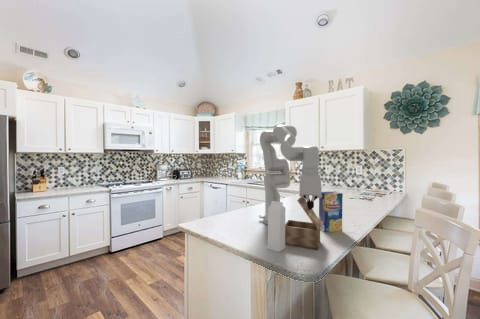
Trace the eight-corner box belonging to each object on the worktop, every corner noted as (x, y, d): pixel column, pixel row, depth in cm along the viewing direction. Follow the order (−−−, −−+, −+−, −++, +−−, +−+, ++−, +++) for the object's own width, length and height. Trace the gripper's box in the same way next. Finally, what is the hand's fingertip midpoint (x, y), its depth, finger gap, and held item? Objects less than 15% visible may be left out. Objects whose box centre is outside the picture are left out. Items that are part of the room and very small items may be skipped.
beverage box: (342, 231, 132) (342, 193, 131) (324, 232, 130) (324, 193, 130) (335, 227, 139) (335, 191, 138) (318, 228, 137) (319, 191, 137)
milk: (273, 245, 111) (274, 199, 110) (285, 248, 107) (285, 201, 107) (267, 249, 106) (267, 201, 106) (279, 252, 102) (279, 203, 102)
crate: (283, 244, 111) (283, 226, 111) (288, 236, 122) (288, 219, 122) (318, 250, 105) (318, 230, 105) (320, 241, 116) (320, 223, 116)
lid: (297, 200, 108) (300, 198, 108) (301, 196, 120) (304, 194, 119) (317, 230, 104) (321, 228, 104) (319, 222, 116) (323, 221, 115)
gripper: (293, 171, 111) (293, 209, 111) (326, 172, 105) (326, 212, 105) (296, 171, 118) (296, 206, 118) (327, 171, 112) (327, 208, 112)
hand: (310, 209), depth 112 cm, fingers closed
